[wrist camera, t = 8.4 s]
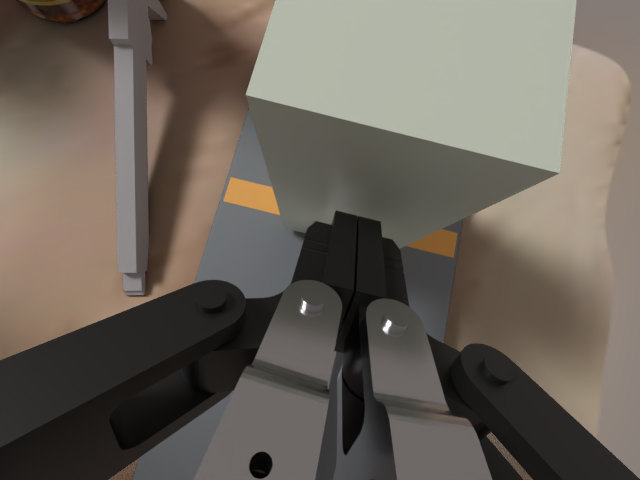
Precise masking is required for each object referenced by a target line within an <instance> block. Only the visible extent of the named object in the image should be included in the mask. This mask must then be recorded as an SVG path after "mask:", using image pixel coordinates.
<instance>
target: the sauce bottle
mask: <svg viewBox="0 0 640 480" xmlns="http://www.w3.org/2000/svg"><path fill="white" fill-rule="evenodd" d="M17 1H18V2H19V4H20V5H21V6H23V7H24V8H25V9H26V10H27V11H29V12H30V13H31V14H34V15H36V16H38V17H41V18H44V19H47V20H51V21H58V22H61V23H71V22H77V21H78V20H79V19H81V18H82V17H86V16H88V15H90V14H92V13H94V12H95V11H96V10H97V9H98V8H99V7H100V6H101V5H102V4H103V3H104V1H105V0H17Z"/></svg>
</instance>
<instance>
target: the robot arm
mask: <svg viewBox="0 0 640 480" xmlns="http://www.w3.org/2000/svg"><path fill="white" fill-rule="evenodd" d="M403 271H404V270H403V264H402V257H401V251H400V249H399V248H398V246H397V245H396V244H395V242H394V241H393V240H392V239H388V238H384V237H382V230H381V221H378V220H373V219H369V218H365V217H361V216H358V218H357V215H353V214H349V213H345V212H341V211H337V210H336V211H335V213H334V217H333V221H332V224H331V225H330V224H326V223H322V222H318V221H316V222H315V223H313V224H312V225H311V226H309V227H308V228H307V231H306V235H305V238H304V241H303V245H302V248H301V251H300V255H299V258H298V261H297V265H296V268H295V271H294V275H293V278H292V281H291V283H290V285H289V286H288V287H287V288H286V289H285V290H284V291H283V292H281V293H279V294H277V295H275V296H271V297H266V298H245V296H244V294H243V292H242V291H241V290H240V289H239V288H238V287H237V286H235V285H234V284H231V283H229V282H226V281H222V280H205V281H200V282H197V283H194V284H192V285H189V286H187V287H184V288H182V289H179V290H176V291H174V292H171V293H169V294H166V295H164V296H161V297H159V298H156V299H154V300H151V301H149V302H146V303H144V304H141V305H139V306H136V307H134V308H131V309H129V310H126V311H124V312H121V313H119V314H116V315H114V316H111V317H109V318H106V319H103V320H101V321H98V322H96V323H93V324H91V325H88V326H86V327H83V328H81V329H78V330H76V331H73V332H71V333H68V334H66V335H63V336H61V337H58V338H56V339H53V340H51V341H48V342H46V343H43V344H41V345H38V346H36V347H33V348H30V349H28V350H25V351H23V352H20V353H18V354H15V355H13V356H10V357H8V358H5V359H3V360H0V480H108V479H109V478H111V477H112V476H114V475H115V474H117V473H118V472H119V471H121V470H122V469H124V468H125V467H127V466H128V465H129V464H131V463H132V462H134V461H135V460H137V459H138V458H139V457H141V456H142V455H144V454H145V453H147V452H148V451H150V450H151V449H152V448H154V447H155V446H157V445H158V444H160V443H161V442H162V441H164V440H165V439H167V438H168V437H170V436H171V435H172V434H174V433H175V432H177V431H178V430H180V429H181V428H182V427H184V426H185V425H187V424H188V423H190V422H191V421H192V420H194V419H195V418H197V417H198V416H200V415H201V414H203V413H204V412H205V411H207V410H208V409H210V408H211V407H213V406H214V405H215V404H217V403H218V402H220V401H221V400H223V399H224V398H225V397H227V396H228V395H229V394H230V393H231V392H232V391H234V392H233V394H232V396H231V398H230V401H229V403H228V405H227V407H226V409H225V412H224V414H223V416H222V418H221V420H220V423H219V425H218V427H217V429H216V431H215V434H214V436H213V438H212V440H211V442H210V445H209V447H208V449H207V451H206V453H205V456H204V458H203V460H202V462H201V464H200V467H199V469H198V471H197V473H196V475H195V478H194V480H315V478H316V472H317V466H318V461H319V455H320V450H321V444H322V438H323V433H324V427H325V421H326V416H327V410H328V404H329V395H330V391H329V389H328V381H329V375H330V370H331V365H332V360H333V354H334V351H336V352H340V353H343V365H342V367H341V370H340V372H339V375H338V379H337V460H336V468H335V473H334V477H333V480H523V479H522V478H521V476H520V475H519V474H518V473H517V472H516V471H515V469H514V468H513V467H512V466H511V465H510V464H509V462H508V461H507V460H506V459H505V458H504V457H503V455H502V454H501V453H500V452H499V451H498V450H497V448H496V447H495V446H494V445H493V444H492V442H491V441H490V440H489V439H488V438H487V437H486V436H487V435H488V434H489V433H490V432H492V433H493V434H494V435H495V436H496V438H497V439H498V440H499V441H500V442H501V443H502V444H503V446H504V447H505V448H506V449H507V450H508V451H509V452H510V454H511V455H512V456H513V457H514V458H515V459H516V460H517V462H518V463H519V464H520V465H521V466H522V467H523V468H524V470H525V471H526V472H527V473H528V474H529V475H530V476H531V478H532V479H533V480H640V479H639V478H638V477H637V476H636V475H635V474H634V473H633V472H631V471H630V470H629V469H628V468H627V467H626V466H625V465H624V464H623V463H622V462H621V461H620V460H619V459H617V458H616V457H615V456H614V455H613V454H612V453H611V452H610V451H609V450H608V449H607V448H605V447H604V446H603V445H602V444H601V443H600V442H599V441H598V440H597V439H596V438H595V437H594V436H593V435H592V434H590V433H589V432H588V431H587V430H586V429H585V428H584V427H583V426H582V425H581V424H580V423H579V422H577V421H576V420H575V419H574V418H573V417H572V416H571V415H570V414H569V413H568V412H567V411H566V410H565V409H563V408H562V407H561V406H560V405H559V404H558V403H557V402H556V401H555V400H554V399H553V398H552V397H550V396H549V395H548V394H547V393H546V392H545V391H544V390H543V389H542V388H541V387H540V386H539V385H538V384H536V383H535V382H534V381H533V380H532V379H531V378H530V377H529V376H528V375H527V374H526V373H525V372H523V371H522V370H521V369H520V368H519V367H518V366H517V365H516V364H515V363H514V362H513V361H512V360H510V359H509V358H508V357H507V356H506V355H504V354H503V353H501V352H500V351H498V350H496V349H494V348H492V347H490V346H487V345H484V344H470V345H467V346H466V347H465V348H464V349H463V350H462V351H461V352H459V351H457V350H455V349H453V348H451V347H449V346H448V345H446V344H444V343H442V342H440V341H438V340H436V339H434V338H433V337H431V336H430V335H428V334H427V333H426V330H425V327H424V324H423V322H422V320H421V318H420V317H419V316H418V314H417V313H416V312H415V311H414V310H413V309H411V308H410V307H409V301H408V295H407V288H406V282H405V276H404V273H403Z"/></svg>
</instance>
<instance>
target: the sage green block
mask: <svg viewBox="0 0 640 480" xmlns="http://www.w3.org/2000/svg"><path fill="white" fill-rule="evenodd" d="M576 1H577V0H276V1H275V4H274V7H273V10H272V13H271V17H270V20H269V23H268V26H267V29H266V32H265V35H264V39H263V42H262V45H261V48H260V51H259V54H258V57H257V61H256V64H255V67H254V70H253V73H252V76H251V79H250V83H249V86H248V89H247V92H246V98H247V101H248V105H249V108H250V112H251V115H252V119H253V122H254V126H255V129H256V133H257V136H258V140H259V143H260V146H261V150H262V153H263V157H264V160H265V164H266V167H267V171H268V174H269V178H270V181H271V184H272V188H273V191H274V195H275V198H276V202H277V205H278V209H279V212H280V216H281V219H282V222H283V226H284V228H286V229H291V230H295V231H299V232H303V233H306V231H307V228H308V227H309V226H311V225H312V224H313V223H315V222H316V221H318V222H322V223H326V224H330V225H331V224H332V221H333V217H334V213H335V211H336V210H337V211H341V212H345V213H349V214H353V215H357V218H358V216H361V217H365V218H369V219H373V220H378V221H381V230H382V237H384V238H388V239H392V240H393V241H394V242H395V244H396V245H397V246H398V248H399V249H400V248H403V247H405V246H407V245H409V244H411V243H413V242H415V241H417V240H419V239H422V238H424V237H426V236H428V235H430V234H432V233H434V232H436V231H439V230H441V229H443V228H445V227H447V226H449V225H451V224H453V223H455V222H458V221H460V220H462V219H464V218H466V217H468V216H470V215H472V214H474V213H477V212H479V211H481V210H483V209H485V208H487V207H489V206H491V205H493V204H496V203H498V202H500V201H502V200H504V199H506V198H508V197H510V196H512V195H515V194H517V193H519V192H521V191H523V190H525V189H527V188H529V187H531V186H534V185H536V184H538V183H540V182H542V181H544V180H546V179H548V178H550V177H553V176H555V175H557V174H559V173H560V163H561V153H562V143H563V133H564V122H565V112H566V102H567V92H568V82H569V72H570V62H571V52H572V41H573V31H574V21H575V11H576Z"/></svg>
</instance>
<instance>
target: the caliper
mask: <svg viewBox="0 0 640 480" xmlns="http://www.w3.org/2000/svg"><path fill="white" fill-rule="evenodd" d="M149 19H151V20H167V13H166V12H165V10H164V9H163V6H162V5H161V3H160V2H159V0H108V27H109V40H110V41H111V43H112V44H113V45H114V90H115V151H116V210H117V261H118V273H123V291H124V292H125V295H126V296H130V295H145V288H146V285H145V271H147V264H148V251H149V210H148V158H147V88H146V65H152V64H153V59H152V51H151V46H152V34H151V27H150V20H149Z"/></svg>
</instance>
